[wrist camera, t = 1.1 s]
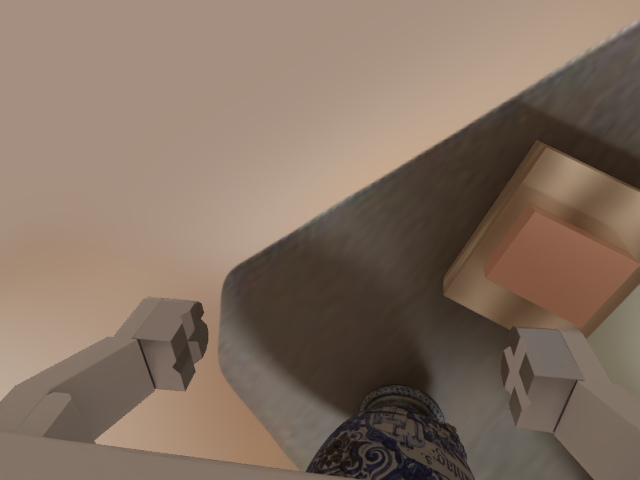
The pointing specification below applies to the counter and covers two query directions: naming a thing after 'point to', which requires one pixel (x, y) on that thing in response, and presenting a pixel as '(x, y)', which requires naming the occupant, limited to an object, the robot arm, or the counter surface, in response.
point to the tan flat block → (564, 202)
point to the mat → (620, 344)
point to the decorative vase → (394, 441)
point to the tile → (558, 265)
